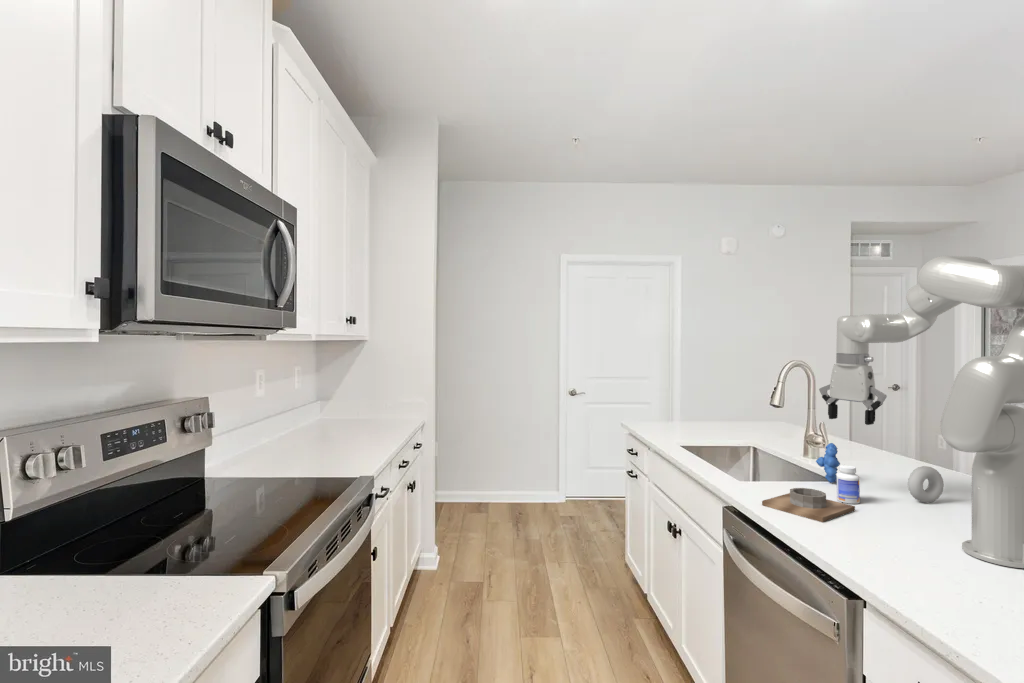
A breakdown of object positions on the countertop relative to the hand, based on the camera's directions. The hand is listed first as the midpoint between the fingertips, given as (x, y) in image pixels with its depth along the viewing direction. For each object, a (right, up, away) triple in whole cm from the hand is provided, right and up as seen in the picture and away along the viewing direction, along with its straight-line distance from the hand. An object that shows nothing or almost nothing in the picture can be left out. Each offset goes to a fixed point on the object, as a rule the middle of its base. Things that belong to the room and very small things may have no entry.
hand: (850, 421), depth 147 cm
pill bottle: (-1, -23, 0) cm, 23 cm away
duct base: (-15, -22, -5) cm, 28 cm away
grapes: (+6, -22, +21) cm, 31 cm away
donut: (+20, -22, -1) cm, 30 cm away
